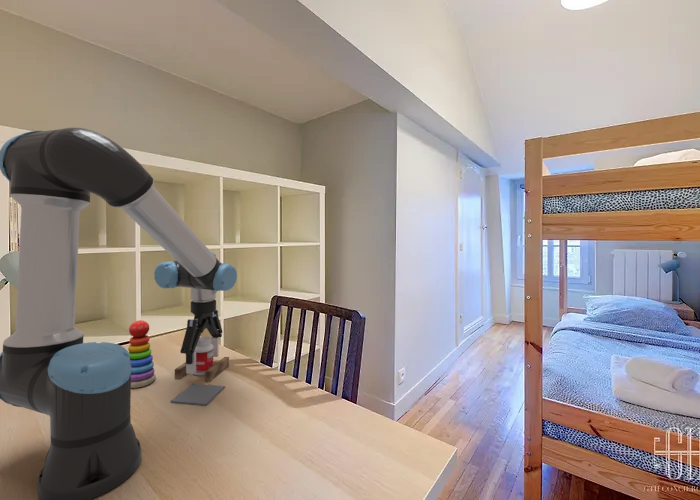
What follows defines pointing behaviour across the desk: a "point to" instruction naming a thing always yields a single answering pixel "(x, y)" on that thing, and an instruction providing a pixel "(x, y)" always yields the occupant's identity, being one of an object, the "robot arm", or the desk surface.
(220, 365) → the pair of wooden rails
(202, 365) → the pill bottle
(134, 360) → the stacking toy
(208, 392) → the coaster
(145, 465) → the desk surface
